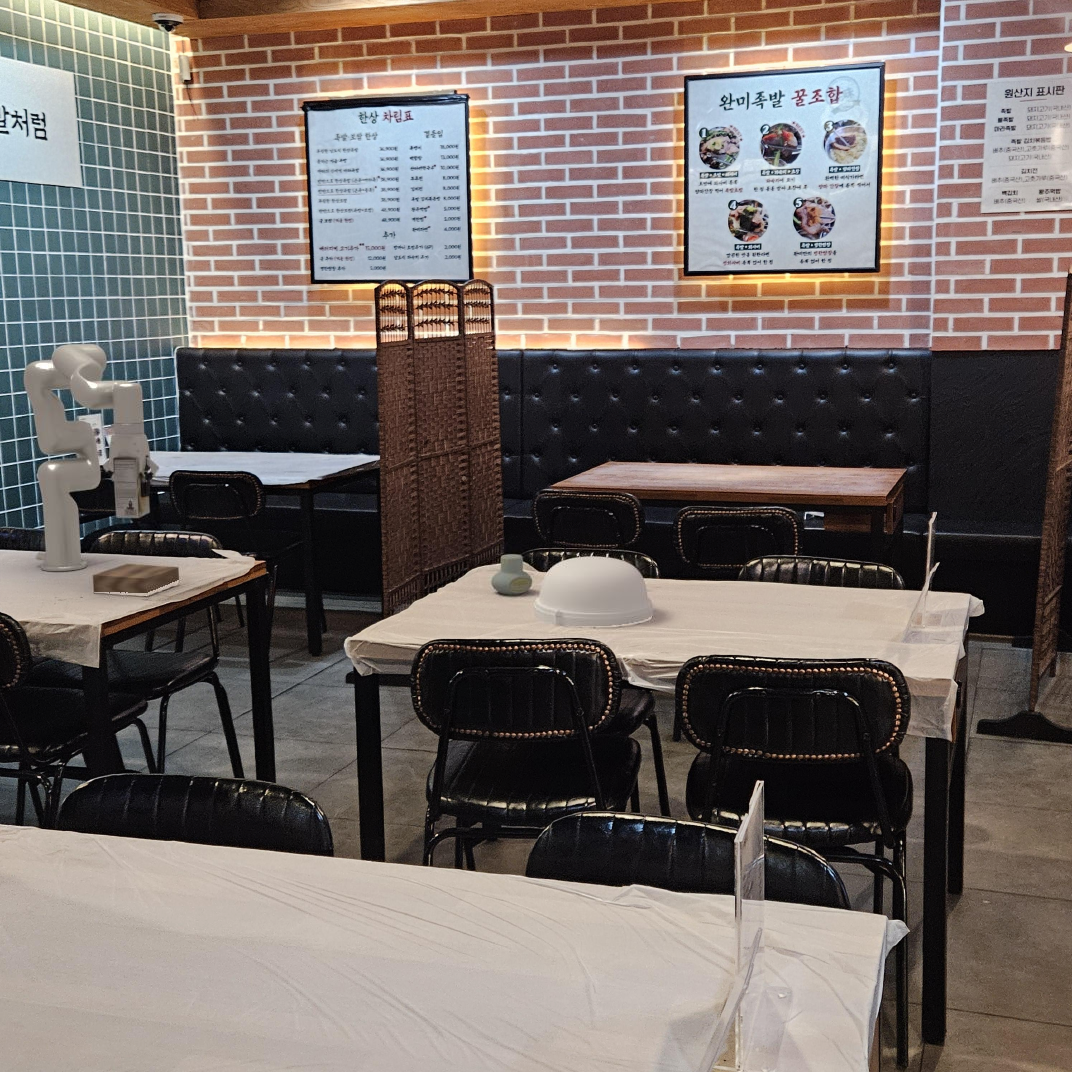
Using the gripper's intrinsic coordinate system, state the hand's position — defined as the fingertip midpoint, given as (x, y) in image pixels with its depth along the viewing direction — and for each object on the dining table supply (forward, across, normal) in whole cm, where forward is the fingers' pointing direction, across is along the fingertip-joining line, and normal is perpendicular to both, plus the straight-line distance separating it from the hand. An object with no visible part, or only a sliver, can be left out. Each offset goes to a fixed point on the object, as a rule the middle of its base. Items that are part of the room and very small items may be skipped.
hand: (132, 495), depth 352 cm
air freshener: (+25, +98, +25) cm, 104 cm away
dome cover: (+26, +125, +7) cm, 128 cm away
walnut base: (+26, 0, 0) cm, 26 cm away
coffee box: (+6, 0, 0) cm, 6 cm away
